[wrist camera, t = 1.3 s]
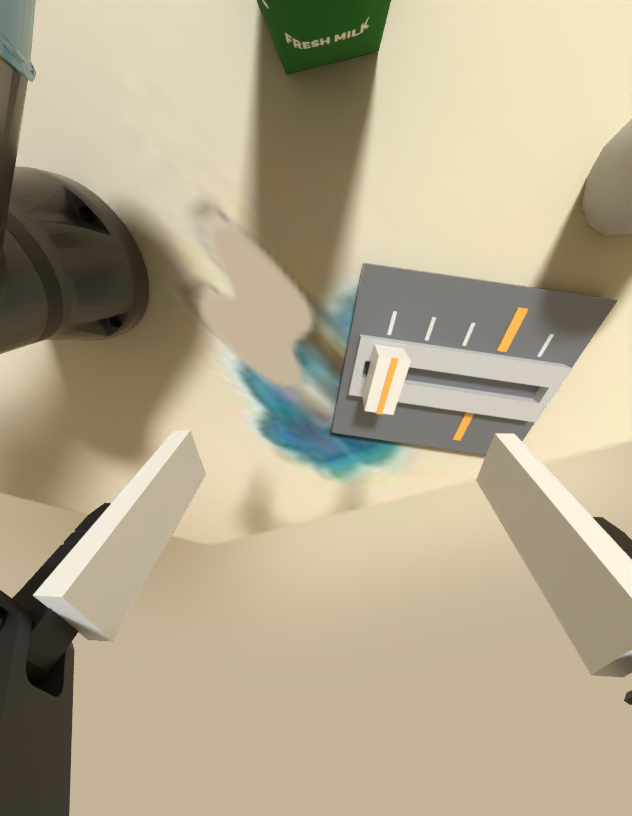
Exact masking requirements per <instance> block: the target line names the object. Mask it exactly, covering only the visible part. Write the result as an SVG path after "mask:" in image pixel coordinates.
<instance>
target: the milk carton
mask: <svg viewBox="0 0 632 816" xmlns="http://www.w3.org/2000/svg"><path fill="white" fill-rule="evenodd" d="M257 2H258V5H259V8H260V10H261V13H262V15H263V18H264V20H265V23H266V25H267V28H268V30H269V33H270V35H271V38H272V40H273V42H274V45H275V47H276V50H277V52H278V55H279V57H280V60H281V62H282V65H283V67H284V70H285V72H286V74H290V73H294V72H298V71H302V70H306V69H310V68H314V67H318V66H322V65H326V64H330V63H334V62H338V61H342V60H346V59H350V58H354V57H358V56H362V55H366V54H370V53H374V52H378V51H379V48H380V43H381V39H382V35H383V31H384V27H385V23H386V19H387V15H388V10H389V6H390V2H391V0H257Z"/></svg>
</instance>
